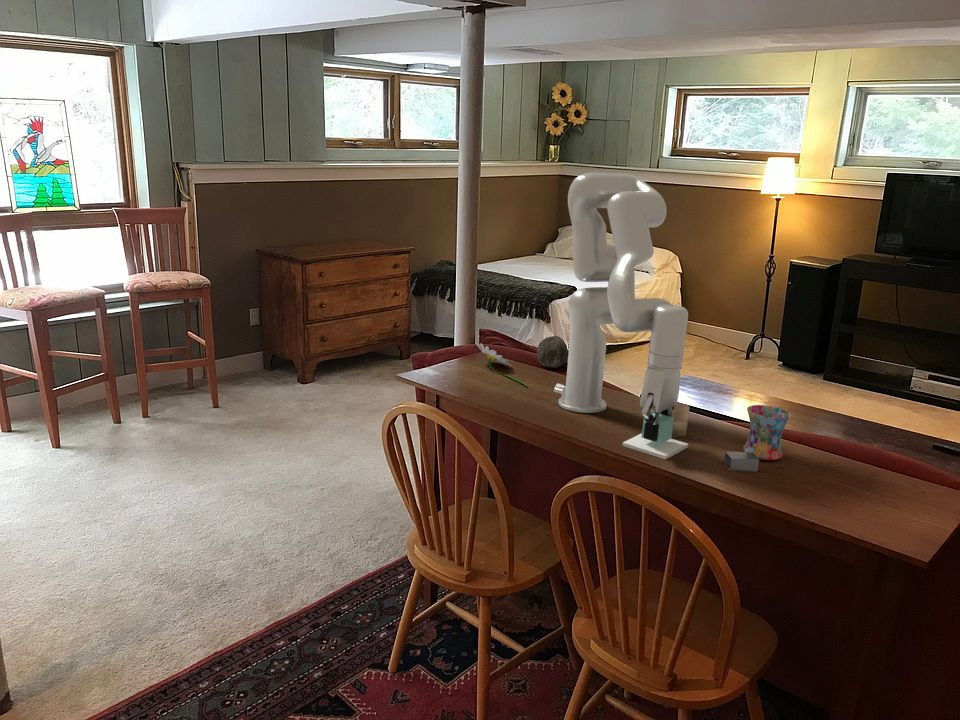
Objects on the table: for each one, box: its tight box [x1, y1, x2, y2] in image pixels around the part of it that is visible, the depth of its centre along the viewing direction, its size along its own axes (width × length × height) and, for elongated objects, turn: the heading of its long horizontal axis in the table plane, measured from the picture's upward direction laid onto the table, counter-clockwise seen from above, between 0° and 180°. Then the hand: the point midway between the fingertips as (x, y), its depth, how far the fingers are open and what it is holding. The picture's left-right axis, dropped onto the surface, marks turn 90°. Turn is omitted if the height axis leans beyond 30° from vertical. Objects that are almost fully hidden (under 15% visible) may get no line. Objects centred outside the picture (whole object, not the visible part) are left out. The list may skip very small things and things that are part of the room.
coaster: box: [621, 433, 689, 460], centre depth 175 cm, size 11×11×1 cm
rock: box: [536, 335, 569, 369], centre depth 238 cm, size 10×11×10 cm
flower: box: [475, 342, 528, 386], centre depth 227 cm, size 13×5×30 cm
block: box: [641, 412, 674, 444], centre depth 174 cm, size 5×5×5 cm
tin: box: [723, 451, 760, 473], centre depth 165 cm, size 6×4×3 cm, turn 91°
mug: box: [742, 404, 792, 461], centre depth 172 cm, size 12×9×11 cm
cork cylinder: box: [672, 402, 690, 438], centre depth 184 cm, size 5×5×7 cm
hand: (656, 435), depth 174 cm, fingers closed on block, 5 cm apart
